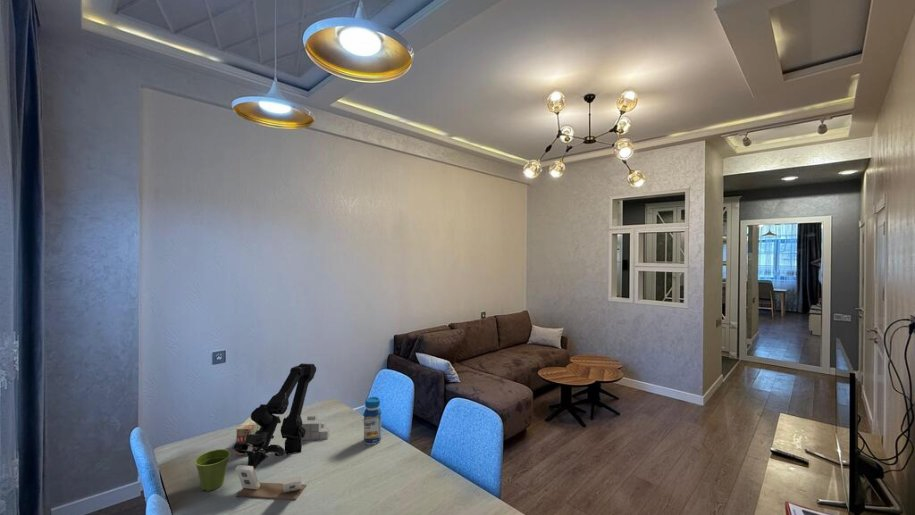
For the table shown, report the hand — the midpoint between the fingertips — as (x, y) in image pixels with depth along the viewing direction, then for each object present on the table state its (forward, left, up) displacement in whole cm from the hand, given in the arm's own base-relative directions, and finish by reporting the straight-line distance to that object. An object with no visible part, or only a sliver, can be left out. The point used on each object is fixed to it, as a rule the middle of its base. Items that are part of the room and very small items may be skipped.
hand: (248, 473), depth 142 cm
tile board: (-8, +2, -7) cm, 11 cm away
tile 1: (-16, +5, -5) cm, 17 cm away
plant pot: (+14, -9, -7) cm, 18 cm away
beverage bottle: (-49, -24, -7) cm, 55 cm away
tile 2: (-1, -1, -5) cm, 6 cm away
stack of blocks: (+4, -40, -8) cm, 41 cm away
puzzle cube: (-24, -40, -8) cm, 47 cm away
